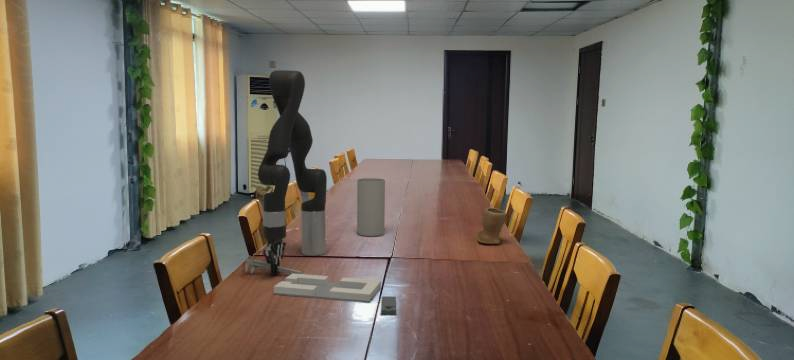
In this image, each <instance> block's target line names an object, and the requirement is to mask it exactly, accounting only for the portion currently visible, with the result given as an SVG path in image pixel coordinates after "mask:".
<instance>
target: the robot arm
mask: <svg viewBox="0 0 794 360" xmlns="http://www.w3.org/2000/svg"><path fill="white" fill-rule="evenodd" d="M268 84H269V90H270V93H271V97H272V99H273V101H274V104H275V107H276V108H277V111H278V115H279V117H278V119H277V120H276V121H275V122H274V124H273V126H272V127H271V130H270V132H269V137H268V142H267V150H265V151H266V152H265V154H264V156H263V158H262V160H261V163H260V165H259V167H258V171H257V179H258V181H259V182H260V184H262V185H265V186H274V189H273V191H270V192H266V193H265V194H264V196H263V216H262V229H263V230H262V231H263V233H262V234H263V237H262V238H264V239H265V240H267V244H266V249H264V250H263V251H262V252H263V256H264V259H265V262H267V264H271V270H270V276H277V275H278V274H279V273H281V272H278V267H277V266H279V267H281V264H280V263H281V262H282V260H283V259H284V254H285V250H286V245H287V243H286V242H283V239H286V237H287V216H286V214H287V213H286V196H287V192H288V189H289V184H290V181H291V173H290V169H289V167H287V165H284V164H277V162H279V160H281V159H286V158H288V155H289V152H290V157H291V160H292V164H293V170H294V176H295V180H296V185H297V188H298V190H299V191H300V192H303V193H312V194H313V193H314V196H313V198H311V199H309V200H306V201H303V202H301V204H300V207H301V208H300V209H301V211H300V212H301V214H300V215H301V224H300V225H301V254H302V255H304V256H321V255H325V253H326V202H327V184H328V183H327V173H326V171H325V170H324V169H322V168H307V165H306V158H307V156H308V154H309V152H310V150H311V148H312V145H313V142H314V140H313V135H312V131H311V127H310V125H309V123H308V121H307V120H306V118H305V117H304V116H302V114H301V113H300V112H299V110H300V106H301V103H302V99H303V97H304V93H305V87H306V80H305V77H304V74H303V72H301V71H299V70H286V69H279V70H278V69H277V70H273V71H272V72H271V73H270V74H269V78H268Z"/></svg>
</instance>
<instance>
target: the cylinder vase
mask: <svg viewBox="0 0 794 360" xmlns="http://www.w3.org/2000/svg"><path fill="white" fill-rule="evenodd" d="M356 180H357V182H356V183H357V184H356V187H357V188H356V190H357V191H356V193H357V194H356V195H357V196H356V197H357V198H356V202H357V203H356V233H357V235H358V236H361V237H365V238H366V237H369V238H371V237H372V238H373V237H374V238H375V237H380V236H383V235H384V234H385V222H386V220H385V215H386V214H385V212H386V210H385V208H386V207H385V204H386V203H385V202H386V199H385V198H386V195H385V194H386V180H385V179H384V178H376V177H375V178H373V177H369V178H368V177H367V178H366V177H365V178H357V179H356Z"/></svg>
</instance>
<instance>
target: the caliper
mask: <svg viewBox="0 0 794 360" xmlns="http://www.w3.org/2000/svg"><path fill="white" fill-rule="evenodd" d="M254 257H255V256H251V255H249V256H248V257H247V258H246V261H245V266H244V267H245V271H244V272H245V274H248V273H249V269H250V266H251V270H250V275H252V274H253V273H254V272H255V270H256V269H259V270H260V271H266V270H270V271H271V264H267V262H266V261H263V260H259V259H254ZM277 267H278V272H280V273H283V274H287V275H291V274H292V273H294V274H304V273H303V271H301V270H296V269H291V268H288V267H284V266H280V267H279V266H277Z"/></svg>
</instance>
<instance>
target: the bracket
mask: <svg viewBox="0 0 794 360" xmlns="http://www.w3.org/2000/svg"><path fill="white" fill-rule="evenodd" d="M396 315H397V297H396V296H390V295H389V296H383V295H382V296H381V306H380V316H396Z"/></svg>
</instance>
